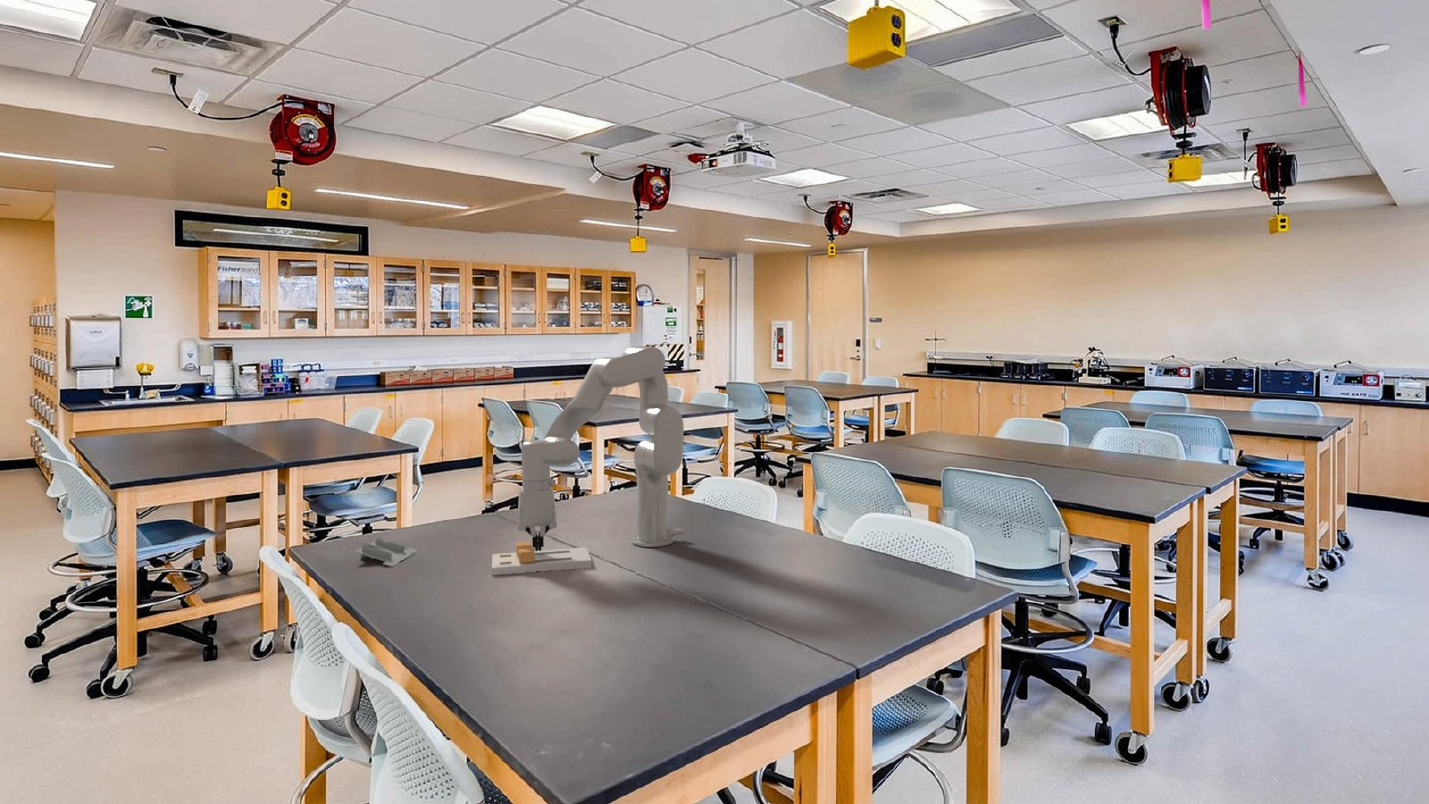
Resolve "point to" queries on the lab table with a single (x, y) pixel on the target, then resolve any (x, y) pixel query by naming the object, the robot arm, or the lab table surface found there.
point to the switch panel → (541, 561)
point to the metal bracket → (385, 551)
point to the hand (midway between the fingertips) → (538, 549)
